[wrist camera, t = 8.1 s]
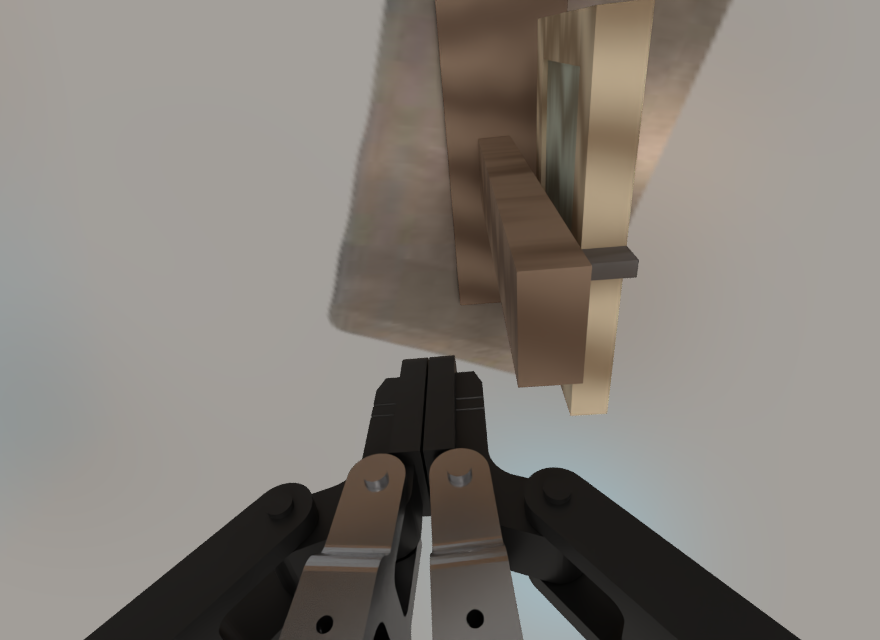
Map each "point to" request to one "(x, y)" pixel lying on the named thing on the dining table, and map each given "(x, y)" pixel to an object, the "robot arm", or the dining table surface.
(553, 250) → the stand
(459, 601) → the robot arm
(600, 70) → the frame
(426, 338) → the dining table surface
